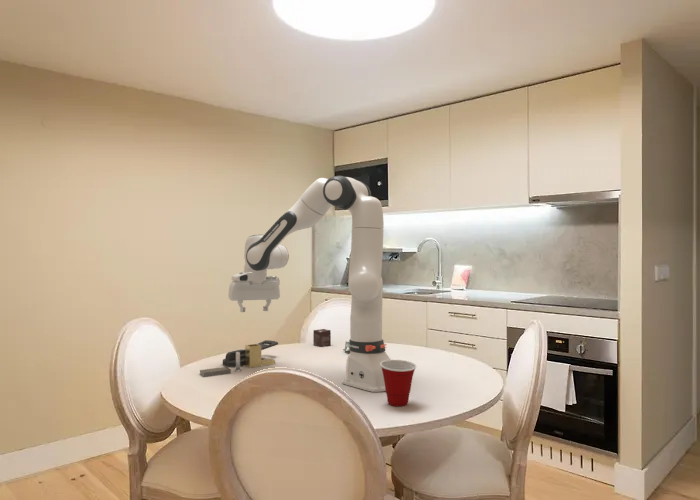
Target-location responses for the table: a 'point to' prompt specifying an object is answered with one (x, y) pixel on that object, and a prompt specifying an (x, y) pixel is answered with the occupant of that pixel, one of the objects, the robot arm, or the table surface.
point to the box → (322, 337)
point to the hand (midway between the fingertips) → (254, 311)
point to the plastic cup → (397, 380)
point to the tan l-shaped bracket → (255, 356)
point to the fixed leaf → (221, 369)
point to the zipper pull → (231, 356)
